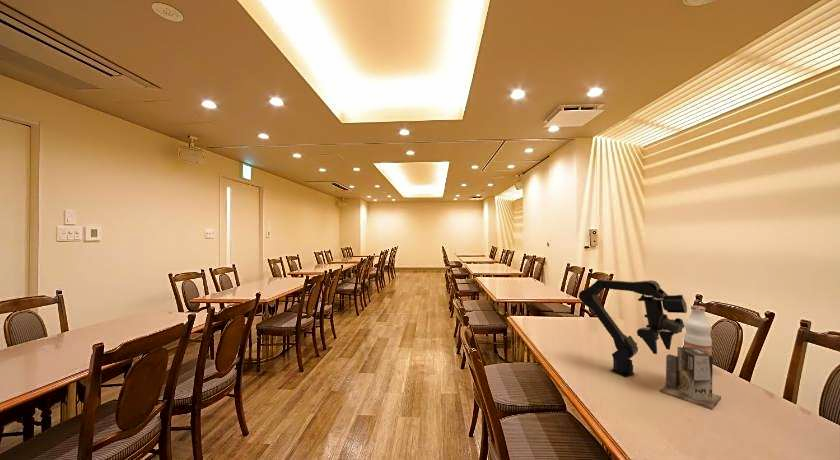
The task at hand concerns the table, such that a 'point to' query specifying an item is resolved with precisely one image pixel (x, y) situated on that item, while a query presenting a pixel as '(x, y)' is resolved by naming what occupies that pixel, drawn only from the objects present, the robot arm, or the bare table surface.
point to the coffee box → (694, 373)
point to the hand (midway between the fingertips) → (661, 351)
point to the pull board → (675, 392)
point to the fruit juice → (698, 331)
